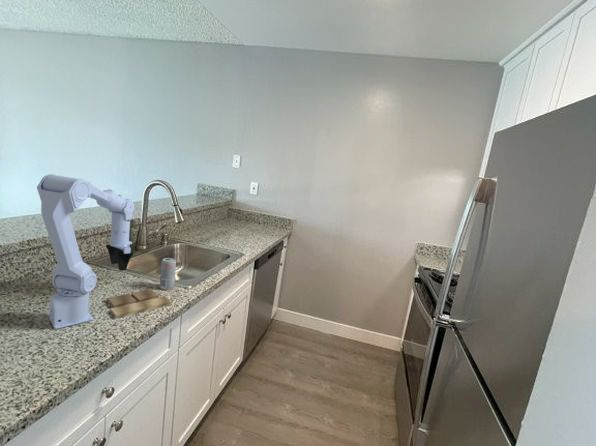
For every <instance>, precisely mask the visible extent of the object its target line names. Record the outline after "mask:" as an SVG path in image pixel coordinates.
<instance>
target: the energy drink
mask: <svg viewBox="0 0 596 446" xmlns="http://www.w3.org/2000/svg"><path fill="white" fill-rule="evenodd" d="M160 267H161V269H160V280H159V281H160V282H159V288H160V289H161V290H163V291H171V290H173V289H174V288H175V281H176V280H175V279H176V270H177V269H176V268H177V260H176V259H175V257H174V258H173V257H165V258H162V261H161V265H160Z"/></svg>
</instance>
